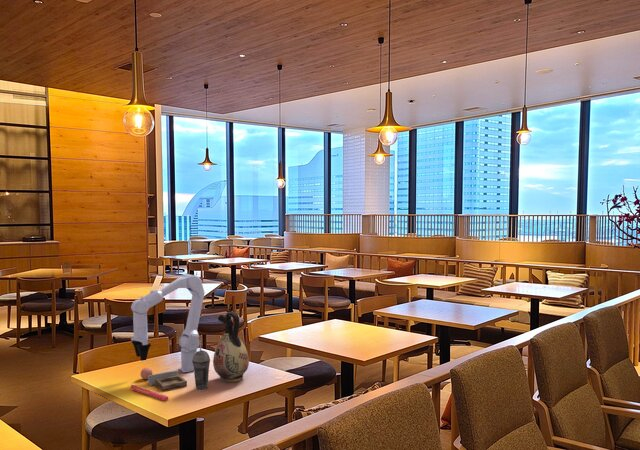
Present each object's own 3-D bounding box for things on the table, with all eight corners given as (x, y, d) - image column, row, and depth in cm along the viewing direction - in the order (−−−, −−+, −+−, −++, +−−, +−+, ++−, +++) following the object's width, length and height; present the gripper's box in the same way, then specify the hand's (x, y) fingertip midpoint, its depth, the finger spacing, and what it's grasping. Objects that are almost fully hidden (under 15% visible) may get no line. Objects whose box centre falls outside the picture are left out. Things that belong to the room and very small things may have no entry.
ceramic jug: (206, 379, 212) (204, 311, 212) (234, 371, 224) (233, 306, 223) (229, 388, 201) (228, 315, 200) (259, 379, 212) (257, 310, 212)
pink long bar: (137, 390, 204) (127, 389, 201) (138, 384, 205) (128, 384, 201) (172, 402, 190) (162, 401, 186) (173, 396, 190) (163, 396, 187)
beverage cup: (194, 392, 196) (193, 343, 196) (190, 387, 203) (189, 339, 203) (212, 389, 200) (211, 340, 199) (208, 384, 206) (207, 337, 206)
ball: (150, 376, 218) (150, 365, 218) (154, 379, 214) (153, 367, 214) (139, 378, 216) (139, 367, 216) (142, 381, 212) (142, 370, 211)
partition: (175, 378, 215) (175, 369, 215) (178, 380, 212) (177, 371, 212) (147, 384, 208) (147, 374, 208) (149, 386, 205) (149, 376, 205)
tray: (179, 380, 213) (179, 375, 212) (186, 386, 204) (186, 381, 204) (155, 384, 207) (155, 379, 207) (162, 391, 199) (162, 386, 199)
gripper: (127, 325, 218) (128, 356, 218) (135, 331, 206) (136, 363, 206) (143, 323, 222) (144, 353, 222) (152, 329, 210) (153, 360, 210)
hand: (141, 358), depth 214 cm, fingers open, 7 cm apart
